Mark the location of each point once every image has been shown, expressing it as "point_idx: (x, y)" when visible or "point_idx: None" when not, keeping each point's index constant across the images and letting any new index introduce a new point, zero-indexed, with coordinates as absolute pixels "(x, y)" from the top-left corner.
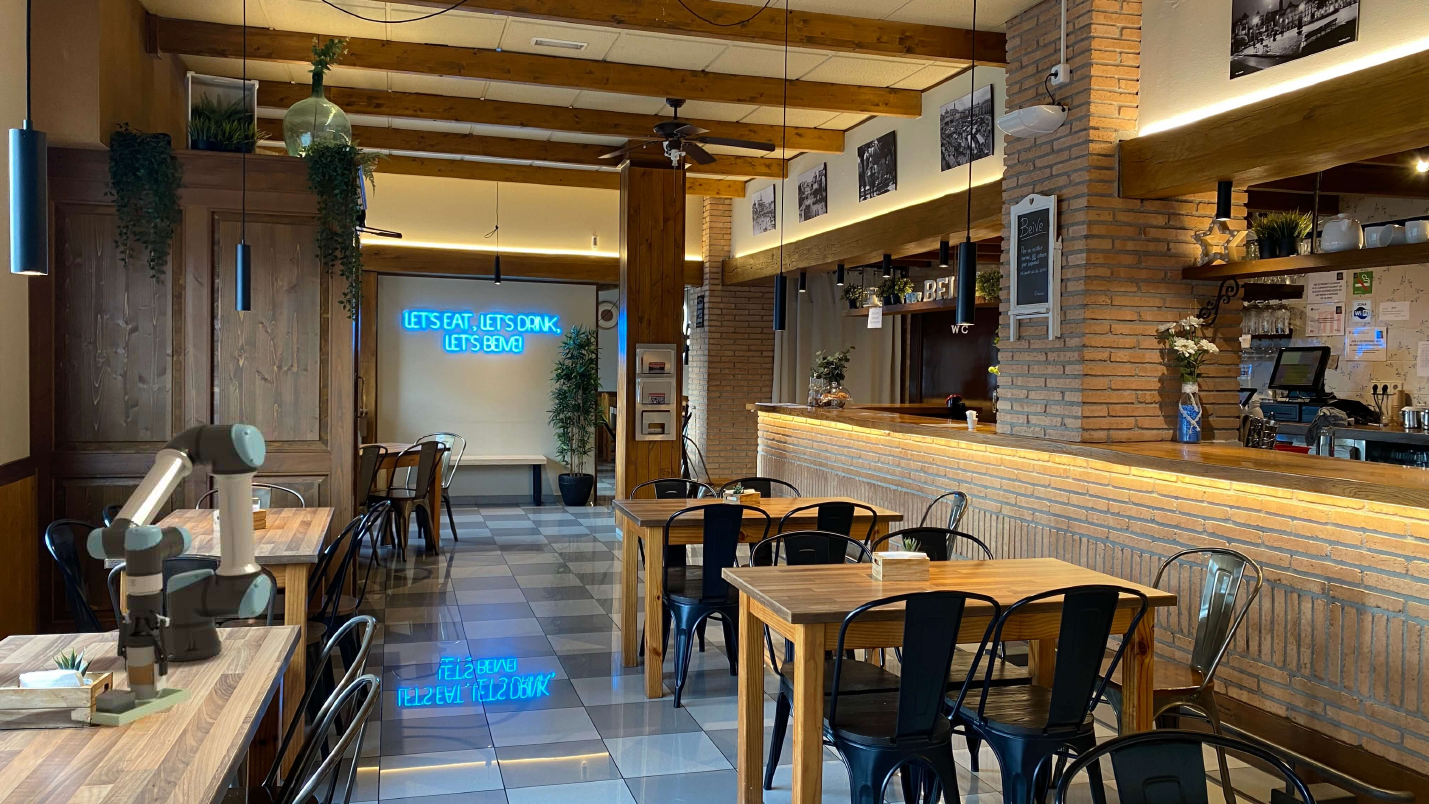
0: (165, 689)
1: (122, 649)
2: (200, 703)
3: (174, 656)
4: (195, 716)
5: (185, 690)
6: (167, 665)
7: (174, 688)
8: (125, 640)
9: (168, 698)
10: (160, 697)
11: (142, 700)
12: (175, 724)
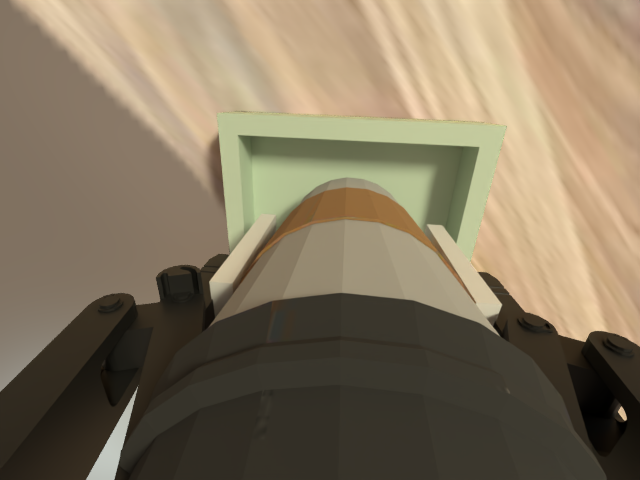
0: (365, 140)
1: (128, 390)
2: (539, 130)
3: (635, 351)
4: (597, 260)
5: (491, 148)
6: (518, 305)
7: (414, 134)
8: (75, 453)
9: (472, 248)
10: (345, 146)
11: (304, 195)
12: (563, 328)
